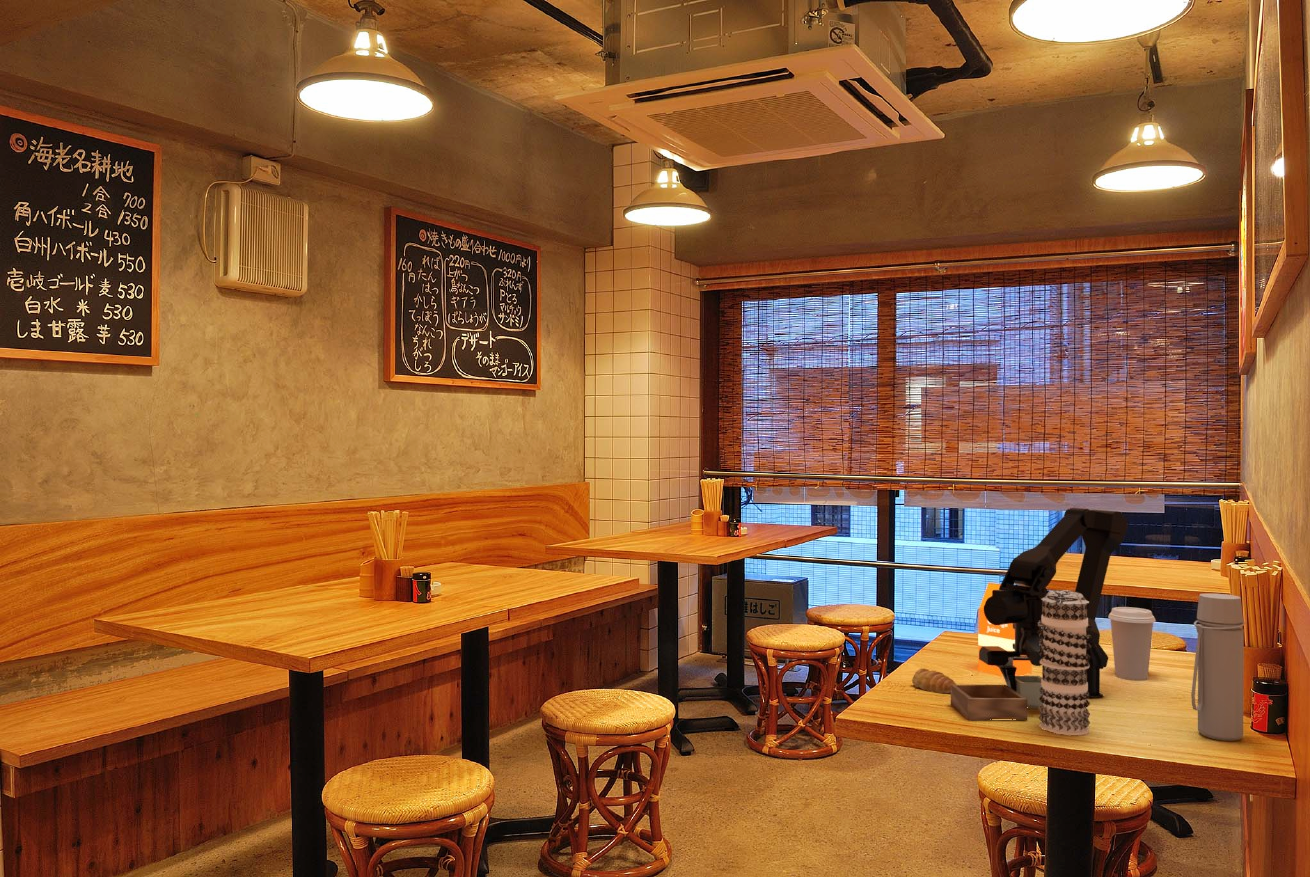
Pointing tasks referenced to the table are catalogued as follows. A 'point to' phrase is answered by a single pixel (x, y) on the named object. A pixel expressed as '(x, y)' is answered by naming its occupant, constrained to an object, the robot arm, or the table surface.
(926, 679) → the pastry
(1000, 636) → the orange juice
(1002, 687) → the big crate
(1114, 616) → the coffee cup
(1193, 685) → the water bottle
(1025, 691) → the small crate
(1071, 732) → the decorative candle
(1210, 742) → the table surface
